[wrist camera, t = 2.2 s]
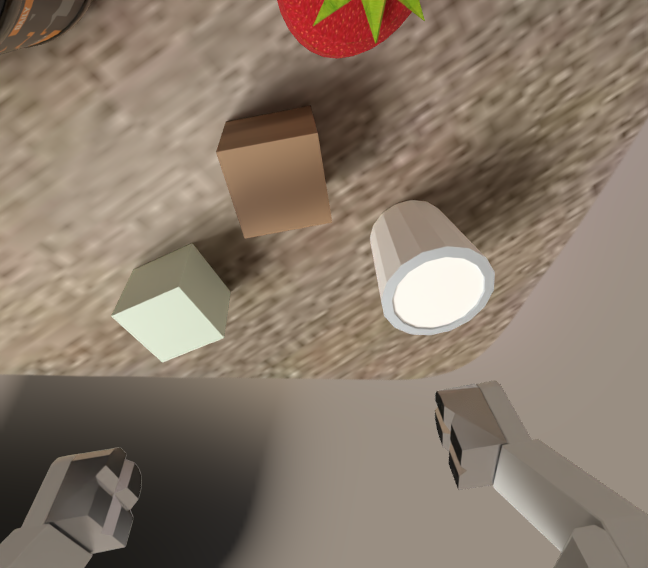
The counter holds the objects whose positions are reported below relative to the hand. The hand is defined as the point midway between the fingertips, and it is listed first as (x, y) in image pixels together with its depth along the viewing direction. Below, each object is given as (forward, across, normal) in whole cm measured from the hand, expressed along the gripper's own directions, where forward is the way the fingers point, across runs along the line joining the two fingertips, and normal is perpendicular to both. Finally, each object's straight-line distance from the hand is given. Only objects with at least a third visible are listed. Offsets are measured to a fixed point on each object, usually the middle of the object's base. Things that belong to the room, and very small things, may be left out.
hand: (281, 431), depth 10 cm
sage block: (+19, +9, +7) cm, 22 cm away
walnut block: (+19, 0, -1) cm, 19 cm away
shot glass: (+19, -8, +7) cm, 22 cm away
